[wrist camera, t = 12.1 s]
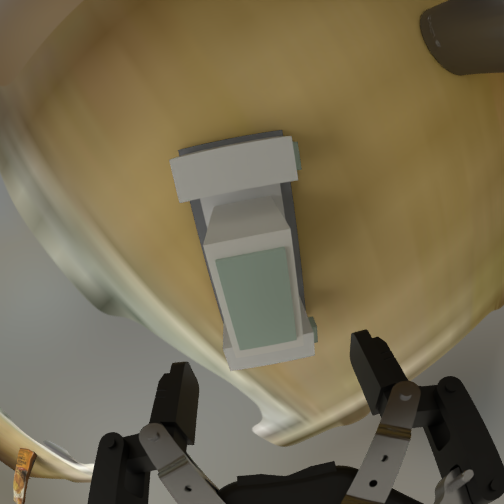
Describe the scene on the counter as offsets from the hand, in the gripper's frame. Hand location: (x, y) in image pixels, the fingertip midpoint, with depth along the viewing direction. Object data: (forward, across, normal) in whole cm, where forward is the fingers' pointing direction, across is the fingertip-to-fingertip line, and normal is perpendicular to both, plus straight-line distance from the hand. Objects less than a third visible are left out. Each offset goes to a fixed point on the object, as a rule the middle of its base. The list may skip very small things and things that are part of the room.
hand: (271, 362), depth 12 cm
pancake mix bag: (+14, +103, +69) cm, 125 cm away
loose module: (+14, 0, 0) cm, 14 cm away
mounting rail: (+16, 0, 0) cm, 16 cm away
